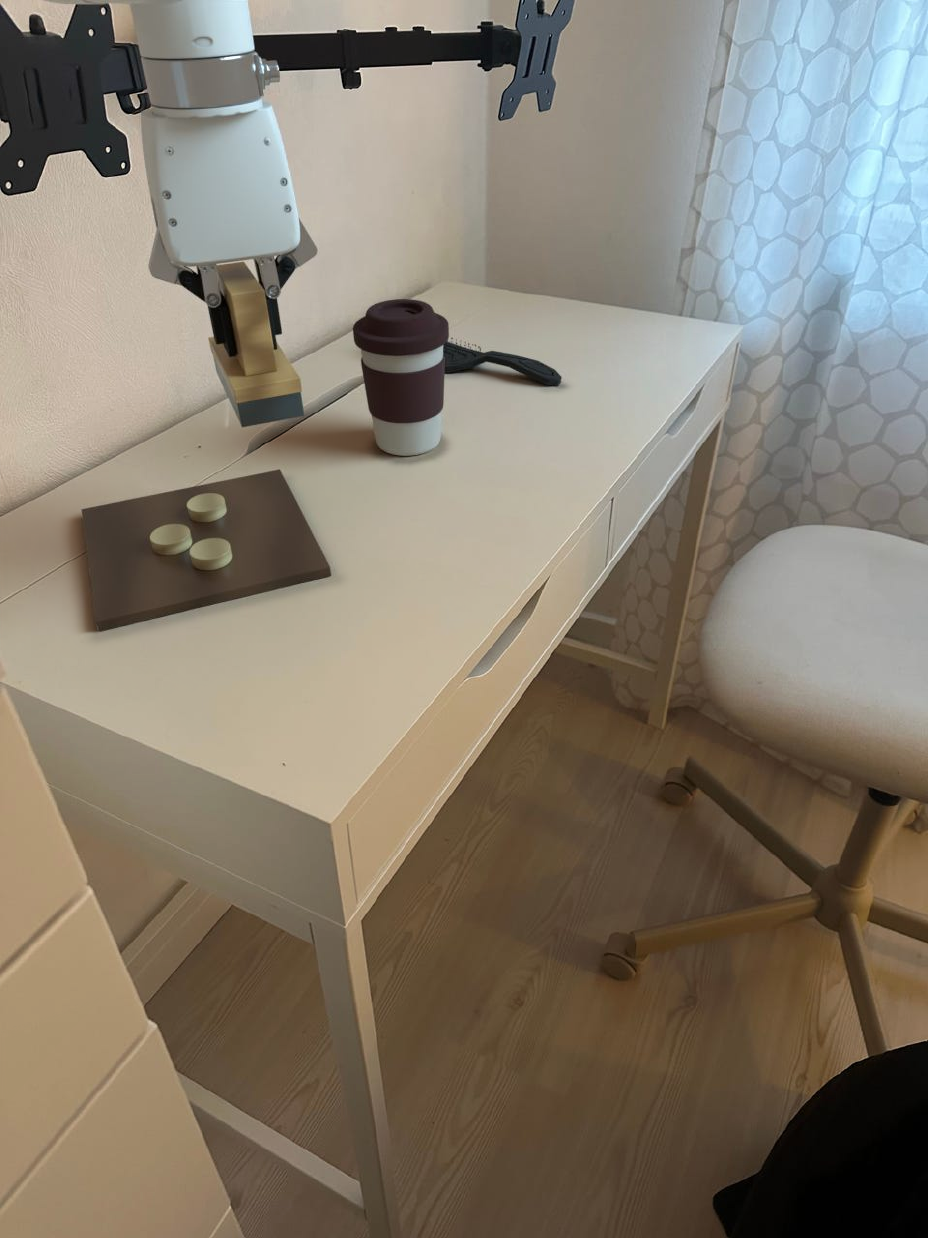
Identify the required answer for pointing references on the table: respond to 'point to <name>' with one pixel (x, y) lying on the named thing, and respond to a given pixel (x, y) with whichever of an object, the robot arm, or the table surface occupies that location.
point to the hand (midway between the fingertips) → (249, 345)
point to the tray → (166, 584)
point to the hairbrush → (497, 362)
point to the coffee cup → (403, 373)
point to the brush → (254, 355)
